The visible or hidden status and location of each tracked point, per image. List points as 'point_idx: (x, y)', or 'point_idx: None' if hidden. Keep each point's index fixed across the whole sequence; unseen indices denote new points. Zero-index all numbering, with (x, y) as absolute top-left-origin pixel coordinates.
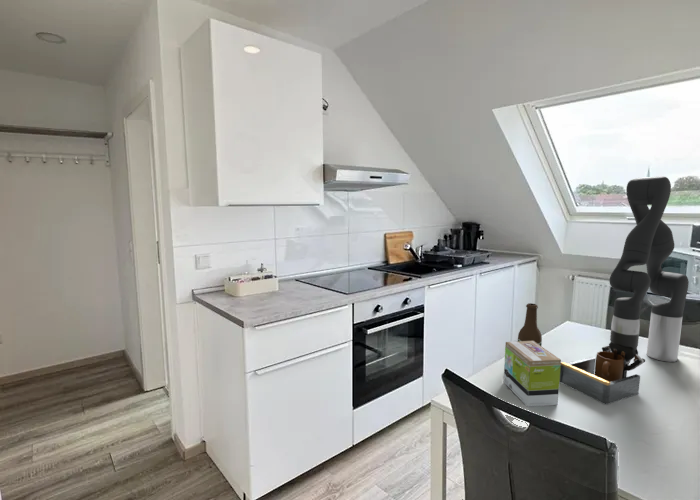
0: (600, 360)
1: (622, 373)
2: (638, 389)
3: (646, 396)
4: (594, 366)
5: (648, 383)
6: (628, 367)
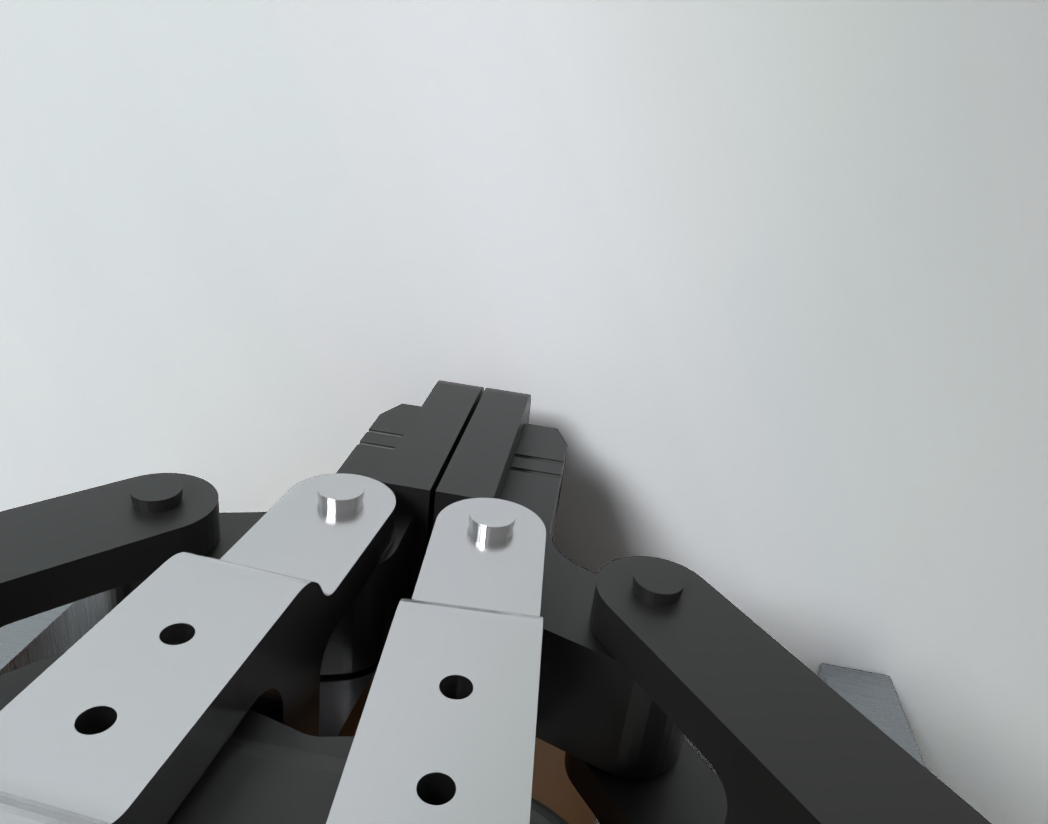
0: None
1: (584, 818)
2: (911, 749)
3: (1012, 659)
4: (37, 650)
5: (893, 3)
6: (635, 816)
